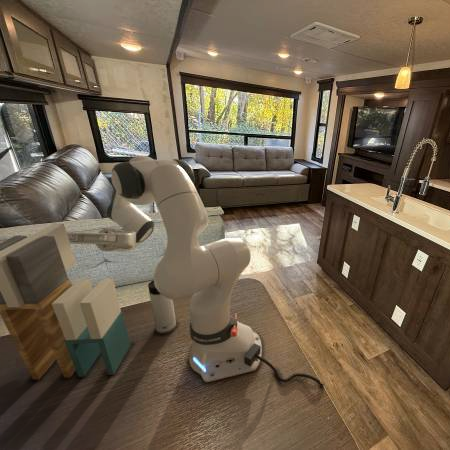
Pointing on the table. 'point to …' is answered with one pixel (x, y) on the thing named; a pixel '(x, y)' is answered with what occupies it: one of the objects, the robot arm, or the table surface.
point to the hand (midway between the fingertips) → (85, 237)
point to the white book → (3, 276)
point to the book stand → (38, 305)
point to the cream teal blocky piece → (92, 324)
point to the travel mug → (162, 310)
